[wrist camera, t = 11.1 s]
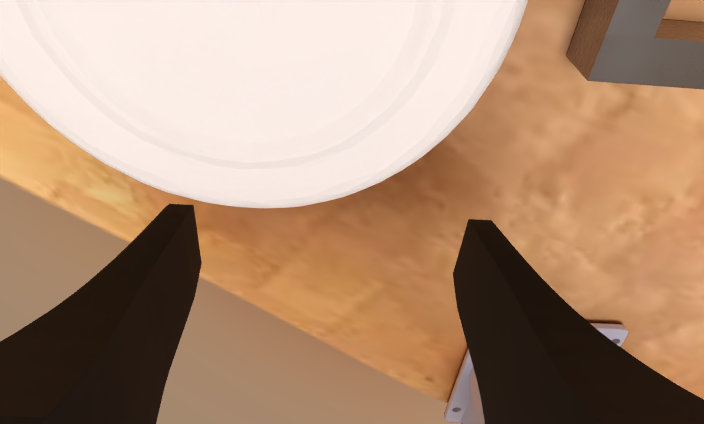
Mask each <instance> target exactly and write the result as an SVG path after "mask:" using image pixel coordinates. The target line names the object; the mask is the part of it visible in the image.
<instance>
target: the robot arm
mask: <svg viewBox="0 0 704 424" xmlns="http://www.w3.org/2000/svg"><path fill="white" fill-rule="evenodd" d="M200 268H201V256H200V249H199V242H198V235H197V227H196V220H195V213H194V206H193V205H180V204H169V205H168V206H166V207H165V208H164V209H163V210H162V211H161V212H160V213H159V215H158V216H157V217H156V218H155V219H154V220H153V221H152V222H151V223H150V224H149V225H148V226H147V227H146V228H145V229H144V230H143V231H142V232H141V233H140V234H139V235H138V236H137V237H136V238H135V239H134V240H133V241H132V242H131V243H130V244H129V245H128V246H127V247H126V248H125V249H124V250H123V251H122V252H121V253H120V254H119V255H118V256H117V257H116V258H115V259H114V260H113V261H111V262H110V263H109V264H108V265H107V266H106V267H105V268H103V269H102V270H101V271H100V272H99V273H98V274H97V275H96V276H94V277H93V278H92V279H91V280H90V281H89V282H88V283H86V284H85V285H84V286H82V287H81V288H80V289H79V290H77V292H75V293H74V294H72V295H71V296H70V297H68V298H67V299H66V300H64V301H63V302H62V303H60V304H59V305H58V306H56V307H55V308H53V309H52V310H50V311H49V312H48V313H46V314H44V315H43V316H41V317H39V318H38V319H37V320H35V321H33V322H32V323H30V324H29V325H27V326H25V327H24V328H22V329H21V330H19V331H18V332H16V333H14V334H13V335H11V336H9V337H8V338H6V339H4V340H2V341H1V342H0V424H156V421H157V417H158V413H159V408H160V404H161V399H162V395H163V391H164V387H165V383H166V380H167V377H168V373H169V370H170V367H171V364H172V361H173V358H174V356H175V353H176V350H177V347H178V344H179V341H180V338H181V335H182V332H183V330H184V327H185V324H186V321H187V318H188V315H189V312H190V309H191V306H192V303H193V300H194V297H195V292H196V287H197V282H198V278H199V273H200ZM453 278H454V286H455V294H456V301H457V308H458V312H459V316H460V320H461V323H462V327H463V331H464V335H465V338H466V342H467V346H468V350H467V353H466V356H465V358H464V361H463V364H462V366H461V369H460V372H459V375H458V377H457V380H456V383H455V386H454V388H453V391H452V394H451V396H450V399H449V402H448V405H447V407H446V410H445V413H444V415H445V420H446V421H448V422H459V423H461V424H704V400H703V399H701V398H700V397H698V396H696V395H694V394H692V393H691V392H689V391H687V390H685V389H683V388H682V387H680V386H678V385H677V384H675V383H673V382H672V381H670V380H669V379H667V378H665V377H664V376H662V375H661V374H659V373H657V372H656V371H654V370H653V369H651V368H650V367H648V366H647V365H645V364H644V363H642V362H641V361H639V360H638V359H636V358H635V357H633V356H632V355H630V354H629V353H628V352H626V351H625V350H624V349H622V348H621V347H620V346H621V344H622V343H623V341H624V340H625V338H626V337H627V335H628V331H627V329H626V327H625V326H624V325H620V324H601V323H589V322H588V321H587V320H585V319H584V318H583V317H582V316H581V315H579V314H578V313H577V312H576V311H575V310H574V309H573V308H572V307H570V306H569V305H568V304H567V303H566V302H565V301H564V300H563V299H562V298H561V297H560V296H559V295H558V294H557V293H556V292H555V291H554V290H553V289H552V288H551V287H550V286H549V285H548V284H547V283H546V282H545V281H544V280H543V279H542V278H541V277H540V276H539V275H538V274H537V273H536V271H535V270H534V269H533V268H532V267H531V266H530V265H529V264H528V263H527V261H526V260H525V259H524V258H523V257H522V256H521V255H520V254H519V252H518V251H517V250H516V249H515V248H514V247H513V245H512V244H511V243H510V242H509V241H508V239H507V238H506V237H505V236H504V235H503V234H502V232H501V231H500V230H499V229H498V228H497V226H496V225H495V224H494V223H493V222H492V221H491V220H474V219H469V220H468V223H467V227H466V230H465V234H464V237H463V241H462V244H461V248H460V251H459V255H458V258H457V262H456V265H455V269H454V272H453Z"/></svg>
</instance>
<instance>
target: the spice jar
mask: <svg viewBox="0 0 704 424" xmlns="http://www.w3.org/2000/svg"><path fill="white" fill-rule="evenodd" d="M527 2H528V0H0V76H1V77H2V78H3V79H4V80H5V81H6V82H7V83H8V84H9V85H10V86H11V88H12V89H13V90H14V91H15V92H16V93H17V94H18V95H19V96H20V97H21V98H22V99H23V100H24V101H25V102H26V103H27V104H28V105H29V106H30V107H31V108H32V109H33V110H34V111H35V112H36V113H37V114H38V115H39V116H40V117H42V118H43V119H44V120H45V121H46V122H47V123H48V124H49V125H51V126H52V127H53V128H54V129H56V130H57V131H58V132H60V133H61V134H62V135H64V136H65V137H66V138H68V139H69V140H70V141H71V142H73V143H74V144H75V145H77V146H78V147H80V148H81V149H83V150H84V151H86V152H87V153H89V154H90V155H92V156H94V157H95V158H97V159H98V160H100V161H101V162H103V163H105V164H106V165H108V166H110V167H112V168H114V169H116V170H118V171H120V172H122V173H124V174H126V175H128V176H130V177H132V178H134V179H136V180H138V181H140V182H142V183H144V184H147V185H149V186H152V187H154V188H157V189H160V190H162V191H165V192H168V193H171V194H175V195H179V196H183V197H187V198H190V199H194V200H198V201H202V202H207V203H213V204H219V205H226V206H234V207H247V208H289V207H298V206H305V205H310V204H315V203H320V202H325V201H329V200H333V199H338V198H342V197H345V196H347V195H350V194H353V193H356V192H358V191H361V190H363V189H366V188H368V187H370V186H373V185H375V184H377V183H380V182H382V181H384V180H386V179H387V178H389V177H391V176H393V175H394V174H396V173H398V172H400V171H402V170H403V169H405V168H406V167H408V166H409V165H411V164H412V163H414V162H415V161H417V160H418V159H420V158H421V157H423V156H424V155H425V154H426V153H428V152H429V151H430V150H431V149H432V148H434V147H435V146H436V145H437V144H438V143H439V142H441V141H442V140H443V139H444V138H445V137H447V136H448V134H449V133H450V132H451V131H452V130H453V129H454V128H455V127H456V126H457V125H458V124H459V123H460V122H461V121H462V120H463V119H464V118H465V117H466V115H467V114H468V113H469V112H470V111H471V110H472V109H473V108H474V106H475V105H476V103H477V102H478V100H479V98H480V97H481V95H482V94H483V93H484V91H485V90H486V88H487V87H488V85H489V84H490V82H491V81H492V79H493V78H494V76H495V75H496V73H497V72H498V70H499V68H500V67H501V65H502V62H503V60H504V58H505V56H506V54H507V52H508V50H509V48H510V46H511V44H512V42H513V40H514V37H515V35H516V33H517V30H518V28H519V26H520V23H521V20H522V17H523V14H524V11H525V8H526V5H527Z"/></svg>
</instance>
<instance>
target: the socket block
mask: <svg viewBox="0 0 704 424" xmlns="http://www.w3.org/2000/svg"><path fill="white" fill-rule="evenodd" d="M670 1H671V0H586V2H585V4H584V7H583V10H582V13H581V16H580V18H579V21H578V24H577V27H576V30H575V32H574V35H573V38H572V41H571V44H570V47H569V49H568V52H567V55H566V57H567V58H568V59H569V60H570V61H571V62H572V63H573V65H574V66H575V67H576V68H577V69H578V70H579V71H580V73H581V74H582V75H583V76H584V77H585V78H586V79H587V81H599V82H612V83H626V84H639V85H653V86H666V87H680V88H693V89H704V23H703V22H691V21H679V20H667V19H662V18H663V16H664V14H665V12H666V10H667V7H668V5H669V3H670Z"/></svg>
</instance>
